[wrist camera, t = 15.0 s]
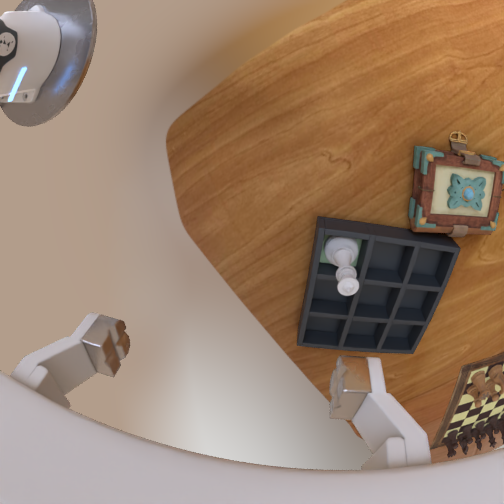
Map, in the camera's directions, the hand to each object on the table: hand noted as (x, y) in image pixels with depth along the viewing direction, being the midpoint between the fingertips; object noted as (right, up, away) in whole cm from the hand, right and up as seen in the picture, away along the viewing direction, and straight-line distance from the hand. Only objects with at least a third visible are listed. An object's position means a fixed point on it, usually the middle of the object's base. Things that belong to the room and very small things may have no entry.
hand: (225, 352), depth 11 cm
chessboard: (+71, -35, +41) cm, 89 cm away
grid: (+19, -2, +31) cm, 36 cm away
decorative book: (+29, +13, +21) cm, 38 cm away
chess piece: (+12, +4, +28) cm, 31 cm away
